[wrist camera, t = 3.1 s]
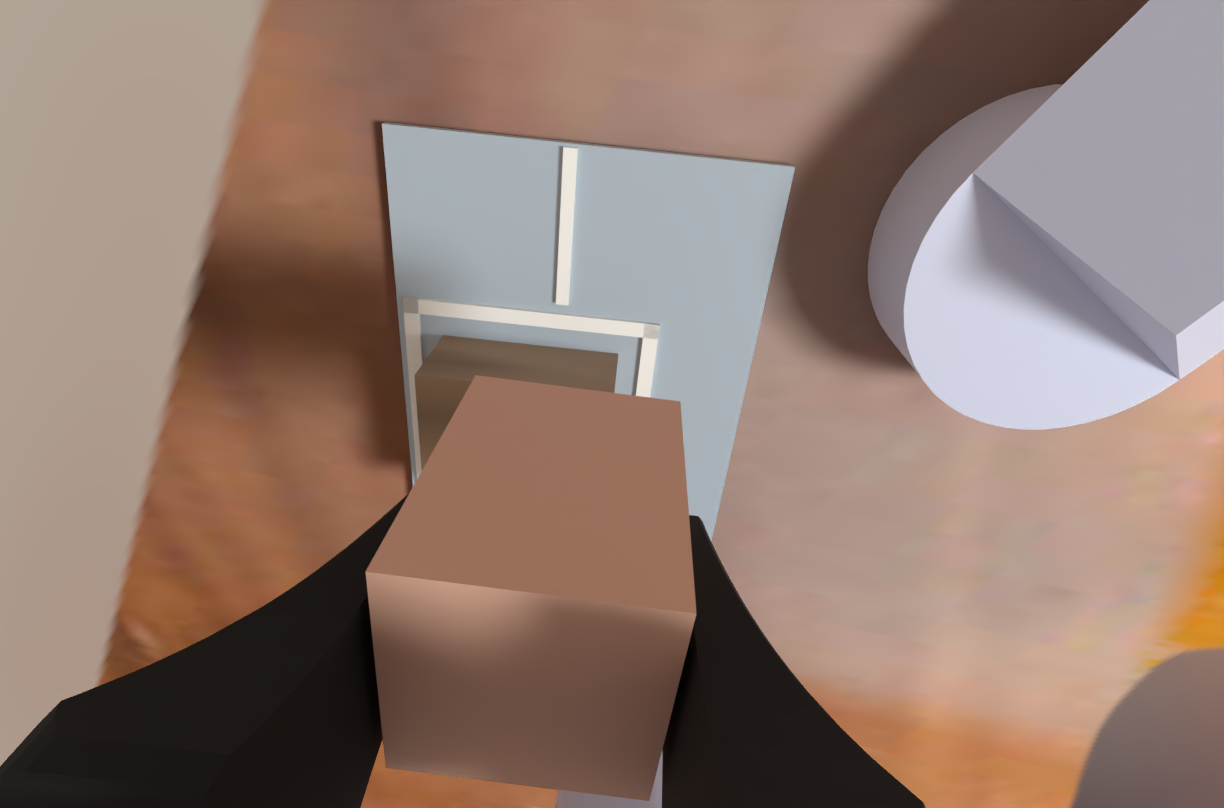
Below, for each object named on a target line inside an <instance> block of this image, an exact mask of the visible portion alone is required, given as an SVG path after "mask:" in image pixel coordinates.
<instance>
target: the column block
mask: <svg viewBox="0 0 1224 808" xmlns="http://www.w3.org/2000/svg"><path fill="white" fill-rule="evenodd" d="M366 582H367V591H368V601H369V611H370V620H371V630H372V640H373V649H374V659H375V668H376V678H377V688H378V697H379V707H380V717H381V726H382V736H383V746H384V755H385V765H386V768H390V769H398V770H406V771H414V772H422V773H430V774H438V775H446V776H454V777H462V778H470V779H478V780H486V781H494V782H502V783H510V784H518V785H526V786H534V787H542V788H549V789H557V790H565V791H573V792H581V793H589V794H597V795H605V796H613V797H621V798H629V799H637V800H645V801H649V800H650V796H651V792H652V788H653V784H654V781H655V777H656V773H657V769H658V765H659V761H660V757H661V753H662V749H663V745H664V741H665V737H666V733H667V729H668V725H669V721H670V717H671V713H672V709H673V705H674V701H675V697H676V693H677V689H678V685H679V681H680V677H681V673H682V669H683V665H684V661H685V657H686V653H687V650H688V646H689V642H690V638H691V634H692V630H693V626H694V622H695V618H696V600H695V587H694V574H693V561H692V548H691V535H690V522H689V508H688V495H687V482H686V469H685V456H684V443H683V430H682V416H681V403H680V401H673V400H666V399H658V398H650V397H642V396H634V395H627V394H619V393H611V392H603V391H595V390H587V389H580V388H572V387H564V386H556V385H548V384H541V383H533V382H525V381H517V380H509V379H502V378H494V377H486V376H478V375H475V377H474V379H473V381H472V382H471V384H470V386H469V388H468V390H467V391H466V393H465V395H464V397H463V399H462V400H461V402H460V404H459V406H458V407H457V409H456V411H455V413H454V415H453V416H452V418H451V420H450V422H449V424H448V425H447V427H446V429H445V431H444V432H443V434H442V436H441V438H440V440H439V441H438V443H437V445H436V447H435V449H434V450H433V452H432V454H431V456H430V457H429V459H428V461H427V463H426V465H425V466H424V468H423V470H422V472H421V474H420V475H419V477H418V479H417V481H416V482H415V484H414V486H413V488H412V490H411V491H410V493H409V495H408V497H407V499H406V500H405V502H404V504H403V506H402V507H401V509H400V511H399V513H398V515H397V516H396V518H395V520H394V522H393V523H392V525H391V527H390V529H389V531H388V532H387V534H386V536H385V538H384V540H383V541H382V543H381V545H380V547H379V548H378V550H377V552H376V554H375V556H374V557H373V559H372V561H371V563H370V565H369V566H368V568H367V570H366Z"/></svg>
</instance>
